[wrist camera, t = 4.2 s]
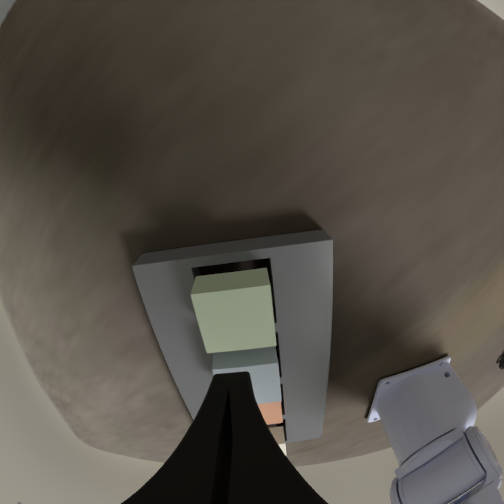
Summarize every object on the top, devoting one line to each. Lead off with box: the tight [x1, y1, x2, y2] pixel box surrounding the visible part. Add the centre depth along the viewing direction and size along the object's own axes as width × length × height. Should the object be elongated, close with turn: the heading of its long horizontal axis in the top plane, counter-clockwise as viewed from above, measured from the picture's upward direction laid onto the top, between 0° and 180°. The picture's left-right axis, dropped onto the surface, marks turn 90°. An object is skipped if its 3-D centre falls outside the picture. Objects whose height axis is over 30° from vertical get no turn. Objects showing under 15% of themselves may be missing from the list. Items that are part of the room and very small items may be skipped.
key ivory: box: [267, 424, 286, 455], centre depth 22 cm, size 4×4×3 cm
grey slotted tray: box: [132, 229, 333, 443], centre depth 21 cm, size 12×22×2 cm, turn 7°
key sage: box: [190, 268, 277, 353], centre depth 16 cm, size 4×4×3 cm
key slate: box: [212, 346, 282, 404], centre depth 18 cm, size 4×4×3 cm
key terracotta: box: [258, 401, 283, 425], centre depth 21 cm, size 4×4×3 cm
